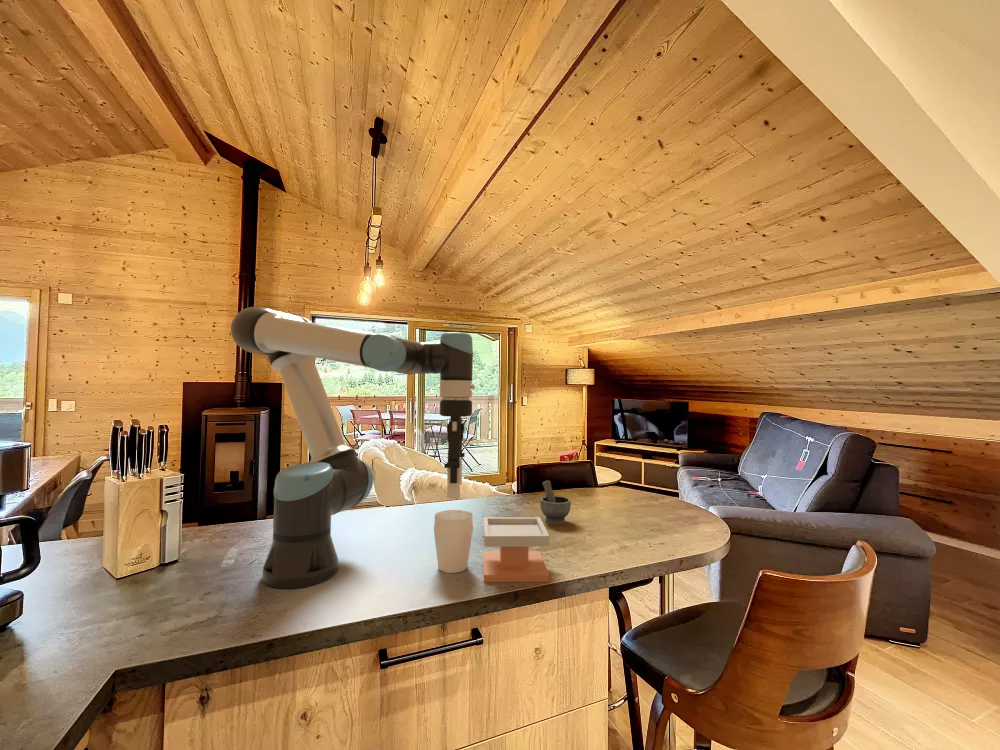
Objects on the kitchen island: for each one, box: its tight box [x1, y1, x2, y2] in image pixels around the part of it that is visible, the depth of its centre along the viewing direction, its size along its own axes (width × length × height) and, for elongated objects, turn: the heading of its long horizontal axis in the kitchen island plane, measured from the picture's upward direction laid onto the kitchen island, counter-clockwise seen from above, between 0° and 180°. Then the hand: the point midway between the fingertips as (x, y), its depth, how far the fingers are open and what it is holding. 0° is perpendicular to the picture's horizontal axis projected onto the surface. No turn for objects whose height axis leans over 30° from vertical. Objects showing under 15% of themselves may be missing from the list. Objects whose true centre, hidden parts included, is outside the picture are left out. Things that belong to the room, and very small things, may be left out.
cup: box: [433, 509, 474, 574], centre depth 102 cm, size 9×9×12 cm
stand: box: [482, 516, 550, 583], centre depth 102 cm, size 14×14×10 cm
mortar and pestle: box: [539, 480, 572, 526], centre depth 139 cm, size 11×9×12 cm
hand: (454, 490), depth 102 cm, fingers open, 13 cm apart
